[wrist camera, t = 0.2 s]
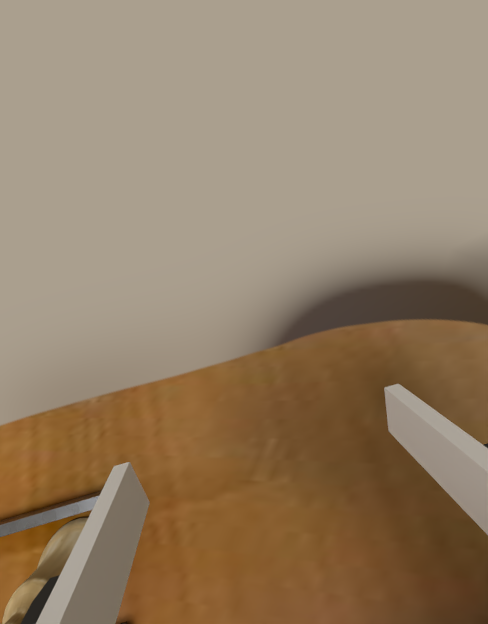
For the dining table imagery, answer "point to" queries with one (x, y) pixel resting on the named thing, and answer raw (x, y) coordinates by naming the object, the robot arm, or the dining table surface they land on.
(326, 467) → the dining table surface
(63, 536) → the hand bell
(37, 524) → the guide channel
